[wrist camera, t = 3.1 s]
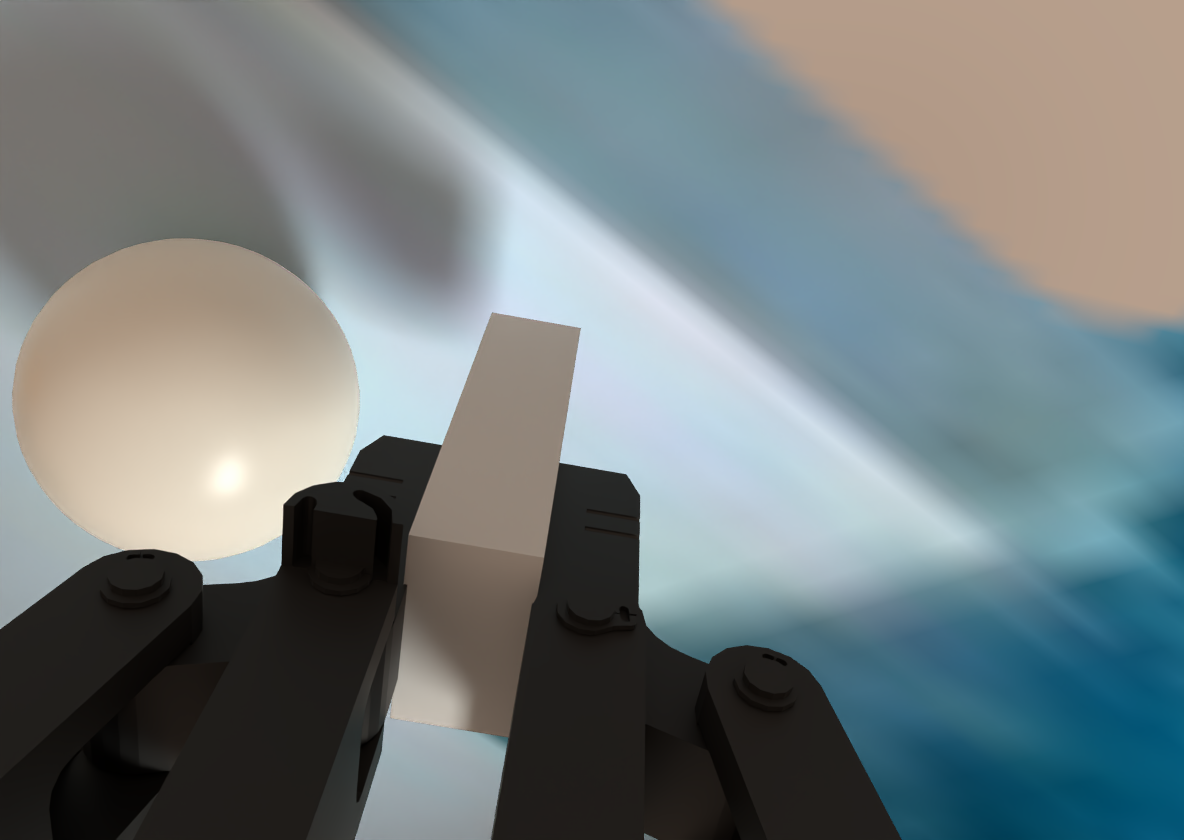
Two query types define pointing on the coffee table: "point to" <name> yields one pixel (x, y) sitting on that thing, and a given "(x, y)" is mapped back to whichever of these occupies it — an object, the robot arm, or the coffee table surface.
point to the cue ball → (184, 397)
